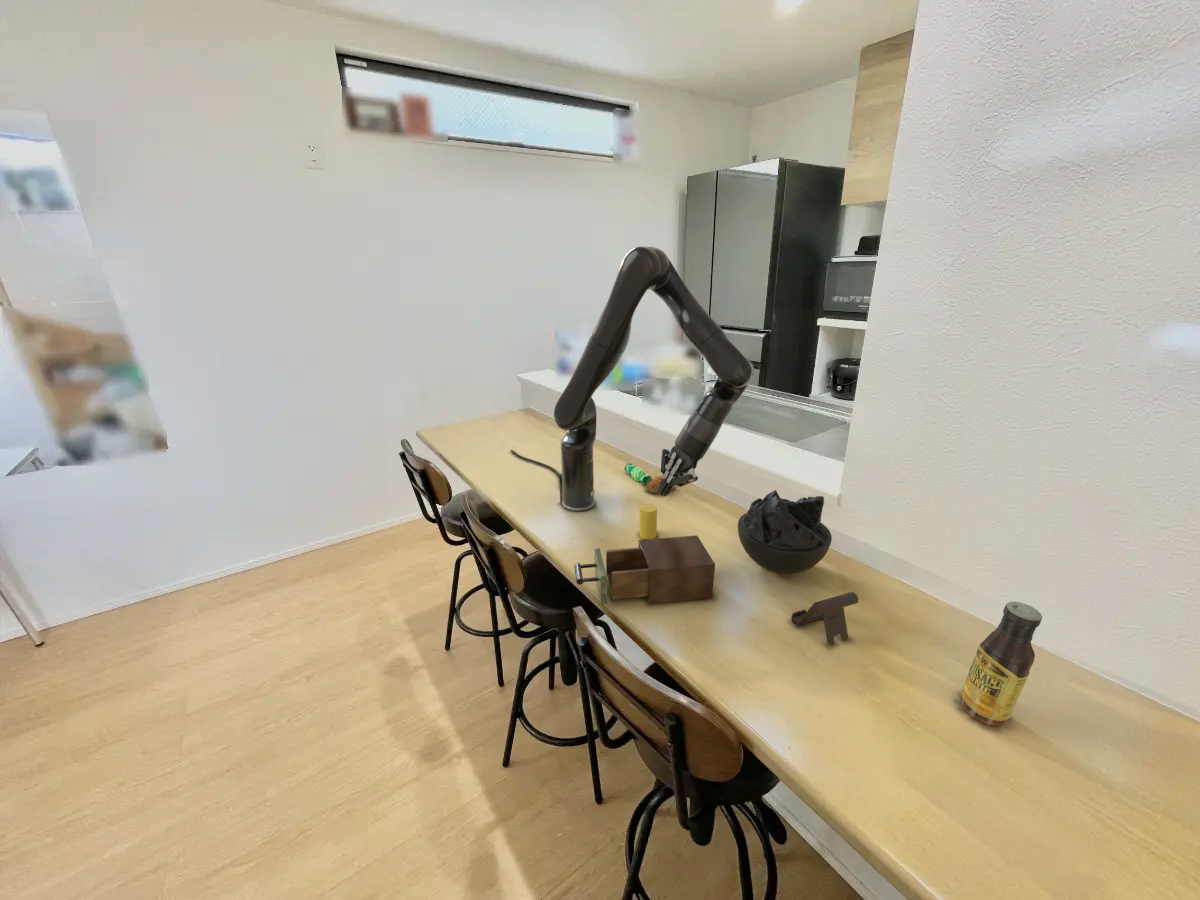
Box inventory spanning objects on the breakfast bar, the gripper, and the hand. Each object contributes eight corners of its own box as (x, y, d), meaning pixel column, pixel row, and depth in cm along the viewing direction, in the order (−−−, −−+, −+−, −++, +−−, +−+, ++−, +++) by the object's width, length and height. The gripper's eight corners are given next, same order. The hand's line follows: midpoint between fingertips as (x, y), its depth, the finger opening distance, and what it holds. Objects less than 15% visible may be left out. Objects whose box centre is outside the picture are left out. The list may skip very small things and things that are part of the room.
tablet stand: (826, 611, 100) (832, 576, 97) (857, 636, 93) (865, 599, 90) (790, 621, 97) (796, 585, 94) (820, 648, 90) (827, 610, 87)
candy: (622, 471, 166) (628, 460, 166) (629, 474, 168) (635, 464, 168) (640, 484, 156) (646, 473, 156) (647, 488, 158) (654, 477, 158)
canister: (636, 536, 128) (636, 508, 125) (645, 529, 131) (645, 502, 129) (650, 541, 126) (651, 513, 123) (659, 534, 129) (660, 506, 126)
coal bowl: (720, 571, 113) (726, 497, 106) (752, 535, 128) (760, 468, 121) (810, 604, 101) (824, 524, 95) (834, 561, 116) (848, 488, 110)
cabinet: (649, 605, 102) (650, 569, 99) (637, 572, 113) (638, 540, 110) (712, 598, 104) (715, 564, 101) (695, 567, 114) (697, 535, 111)
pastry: (655, 496, 150) (656, 485, 149) (640, 489, 155) (640, 478, 154) (677, 488, 155) (677, 477, 154) (661, 481, 160) (662, 470, 159)
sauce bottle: (949, 696, 80) (981, 594, 73) (985, 693, 80) (1020, 592, 73) (981, 732, 73) (1020, 624, 67) (1020, 729, 74) (1063, 621, 67)
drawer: (578, 606, 100) (577, 578, 98) (573, 576, 110) (572, 550, 108) (660, 598, 102) (661, 570, 100) (649, 570, 112) (649, 544, 110)
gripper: (671, 416, 117) (636, 476, 122) (703, 444, 107) (663, 508, 112) (693, 424, 121) (658, 481, 127) (725, 452, 111) (686, 512, 117)
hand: (661, 494), depth 119 cm, fingers closed
